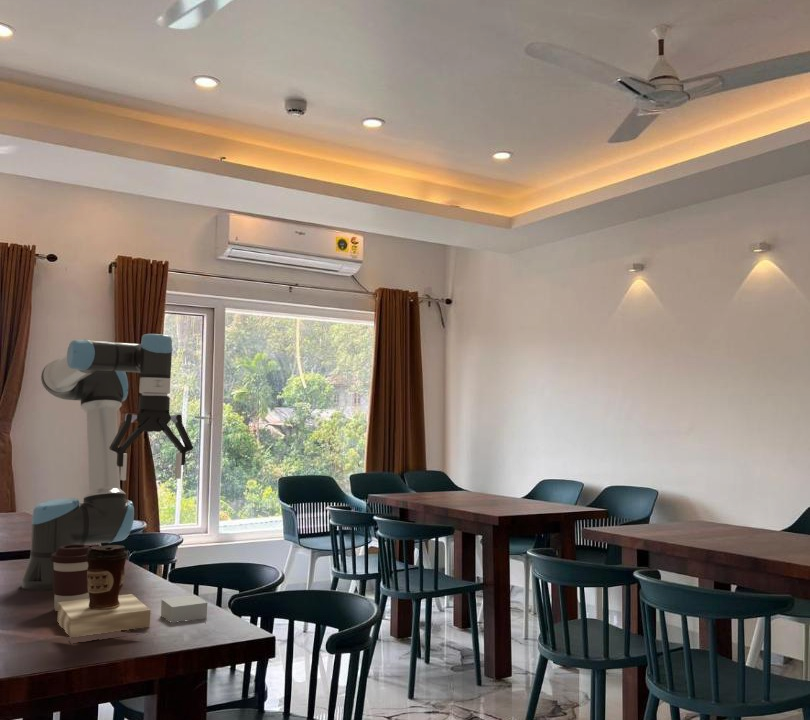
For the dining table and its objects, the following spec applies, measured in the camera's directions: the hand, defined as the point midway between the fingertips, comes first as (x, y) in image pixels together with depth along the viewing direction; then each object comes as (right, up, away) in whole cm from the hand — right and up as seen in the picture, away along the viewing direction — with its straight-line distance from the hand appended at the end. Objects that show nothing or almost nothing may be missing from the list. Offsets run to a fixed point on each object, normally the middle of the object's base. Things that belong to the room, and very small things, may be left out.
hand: (150, 479), depth 193 cm
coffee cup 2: (-2, -24, -25) cm, 35 cm away
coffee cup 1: (-16, -30, -10) cm, 35 cm away
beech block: (-2, -29, -25) cm, 38 cm away
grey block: (+13, -30, -18) cm, 38 cm away
